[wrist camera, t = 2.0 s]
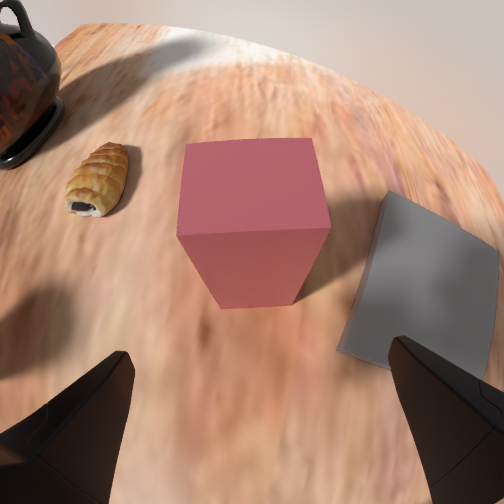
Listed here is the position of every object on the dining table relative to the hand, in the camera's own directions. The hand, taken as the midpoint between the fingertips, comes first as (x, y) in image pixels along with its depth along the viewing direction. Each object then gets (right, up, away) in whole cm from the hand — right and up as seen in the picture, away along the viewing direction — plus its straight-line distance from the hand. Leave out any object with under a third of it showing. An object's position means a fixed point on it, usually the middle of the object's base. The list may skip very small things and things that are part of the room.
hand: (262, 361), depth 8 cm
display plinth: (+16, -1, +13) cm, 21 cm away
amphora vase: (-38, +23, +24) cm, 51 cm away
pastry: (-17, +10, +19) cm, 27 cm away
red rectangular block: (0, +1, +14) cm, 14 cm away
